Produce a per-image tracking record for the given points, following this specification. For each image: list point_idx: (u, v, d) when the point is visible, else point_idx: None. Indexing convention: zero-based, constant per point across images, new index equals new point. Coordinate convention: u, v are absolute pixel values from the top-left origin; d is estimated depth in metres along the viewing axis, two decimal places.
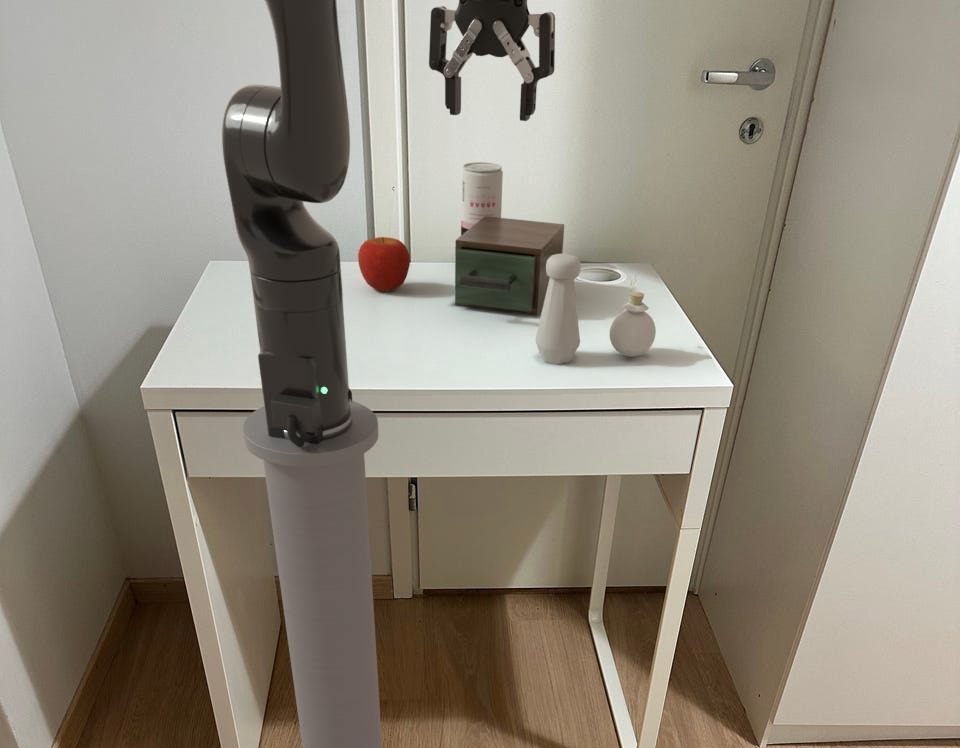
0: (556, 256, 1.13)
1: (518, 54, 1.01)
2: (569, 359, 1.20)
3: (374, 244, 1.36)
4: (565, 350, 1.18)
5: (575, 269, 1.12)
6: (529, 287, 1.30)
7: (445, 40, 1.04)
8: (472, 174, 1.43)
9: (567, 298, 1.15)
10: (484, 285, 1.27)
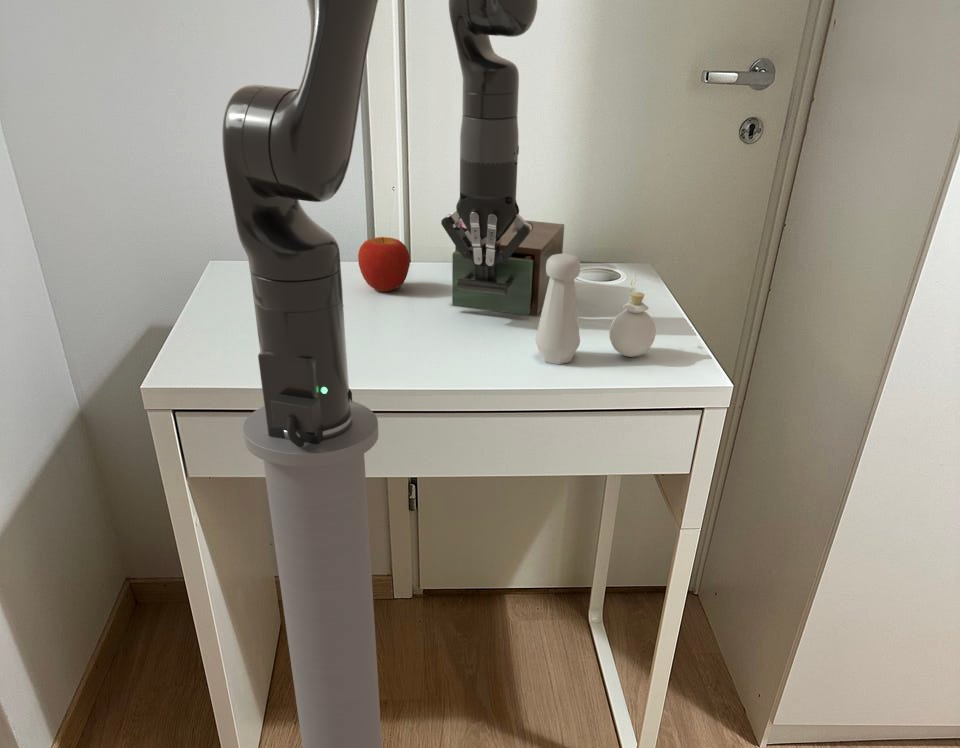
0: (556, 256, 1.13)
1: (493, 245, 1.23)
2: (569, 359, 1.20)
3: (374, 244, 1.36)
4: (565, 350, 1.18)
5: (575, 269, 1.12)
6: (526, 290, 1.29)
7: (464, 233, 1.26)
8: None
9: (567, 298, 1.15)
10: (481, 288, 1.26)
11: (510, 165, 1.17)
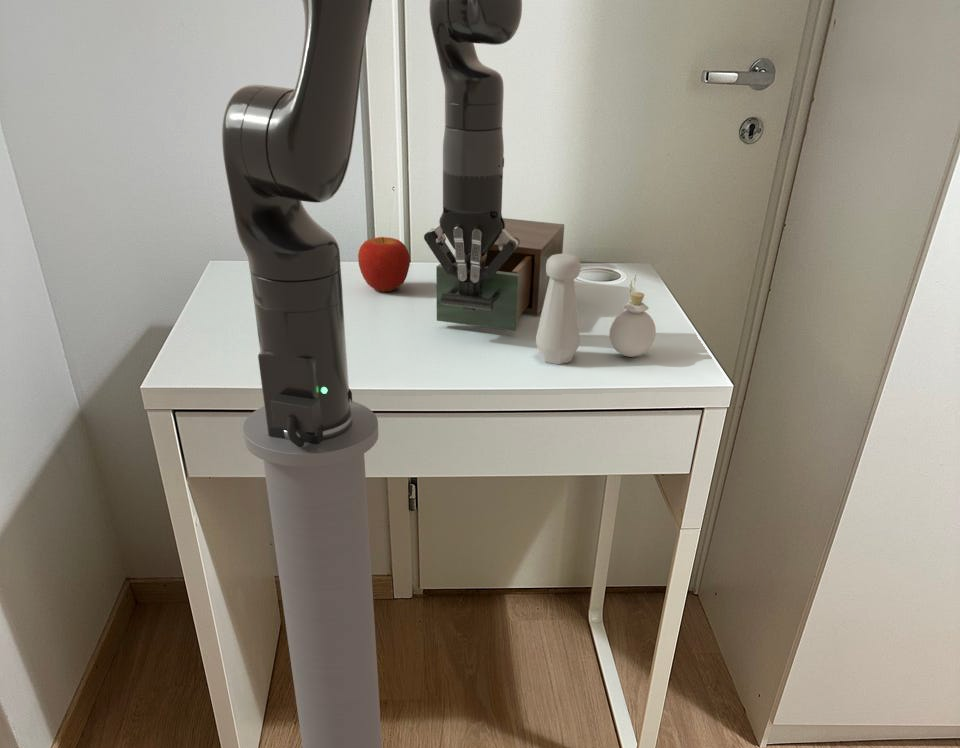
0: (556, 256, 1.13)
1: (477, 261, 1.18)
2: (569, 359, 1.20)
3: (374, 244, 1.36)
4: (565, 350, 1.18)
5: (575, 269, 1.12)
6: (513, 305, 1.24)
7: (448, 248, 1.21)
8: None
9: (567, 298, 1.15)
10: (466, 303, 1.21)
11: (495, 178, 1.11)
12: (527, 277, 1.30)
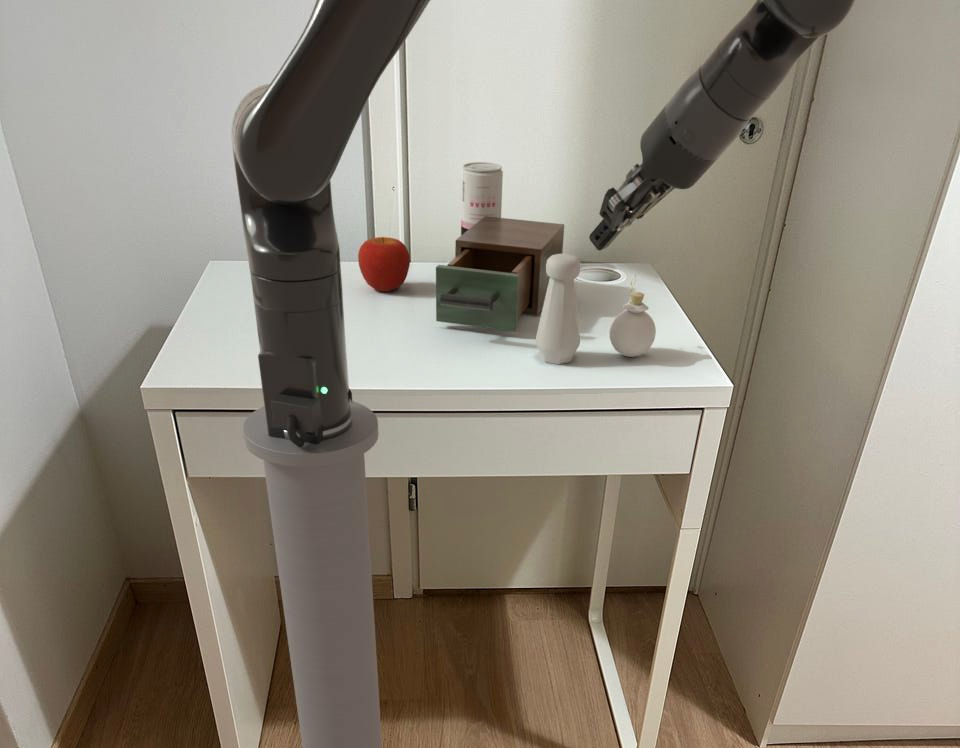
0: (556, 256, 1.13)
1: None
2: (569, 359, 1.20)
3: (374, 244, 1.36)
4: (565, 350, 1.18)
5: (575, 269, 1.12)
6: (513, 306, 1.24)
7: None
8: (472, 174, 1.43)
9: (567, 298, 1.15)
10: (465, 304, 1.21)
11: (664, 127, 0.91)
12: (527, 277, 1.30)
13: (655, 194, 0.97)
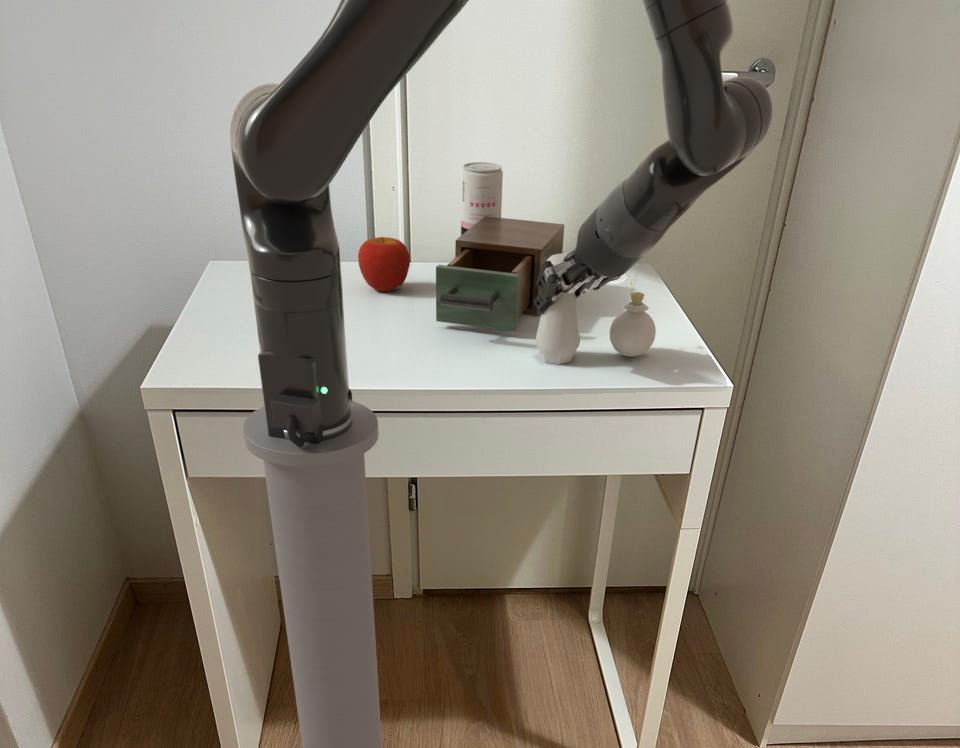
0: (556, 256, 1.13)
1: None
2: (569, 359, 1.20)
3: (374, 244, 1.36)
4: (565, 350, 1.18)
5: None
6: (513, 306, 1.24)
7: None
8: (473, 174, 1.43)
9: (567, 298, 1.15)
10: (465, 304, 1.21)
11: (593, 221, 1.02)
12: (527, 277, 1.30)
13: (589, 275, 1.08)
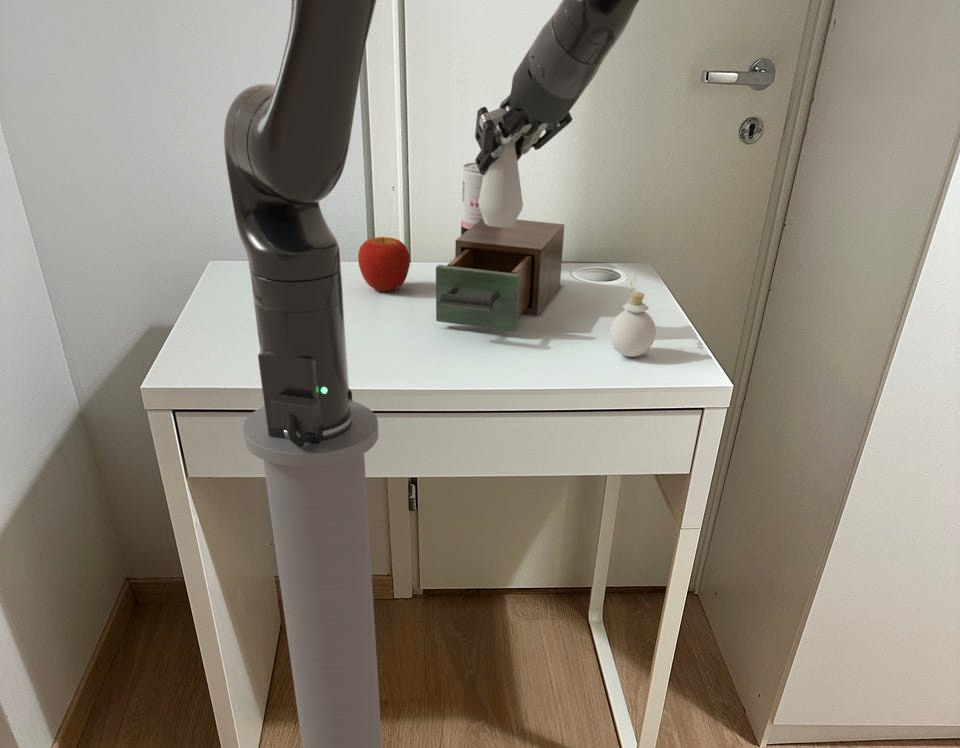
0: None
1: None
2: (512, 223, 1.19)
3: (374, 244, 1.36)
4: (507, 211, 1.17)
5: None
6: (513, 306, 1.24)
7: (548, 131, 1.13)
8: (472, 174, 1.43)
9: (507, 155, 1.14)
10: (465, 304, 1.21)
11: (526, 60, 1.02)
12: (527, 277, 1.30)
13: (526, 124, 1.08)
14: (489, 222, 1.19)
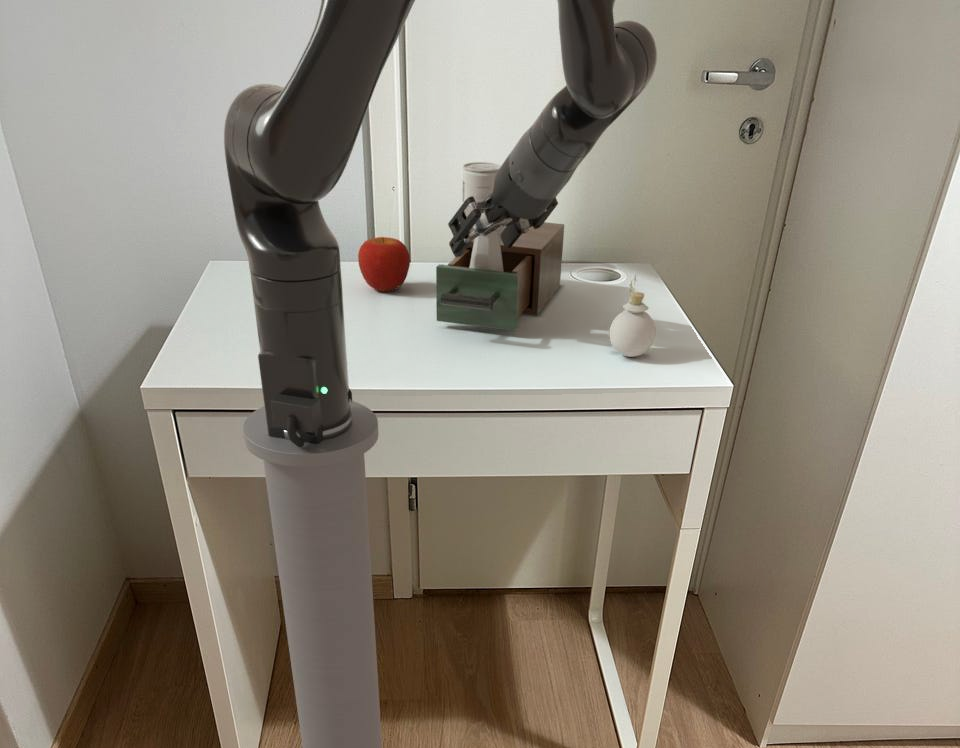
0: None
1: None
2: None
3: (374, 244, 1.36)
4: None
5: None
6: (513, 305, 1.24)
7: (540, 215, 1.22)
8: (472, 174, 1.43)
9: (492, 250, 1.23)
10: (466, 304, 1.21)
11: (507, 164, 1.10)
12: (527, 277, 1.30)
13: (509, 217, 1.16)
14: None
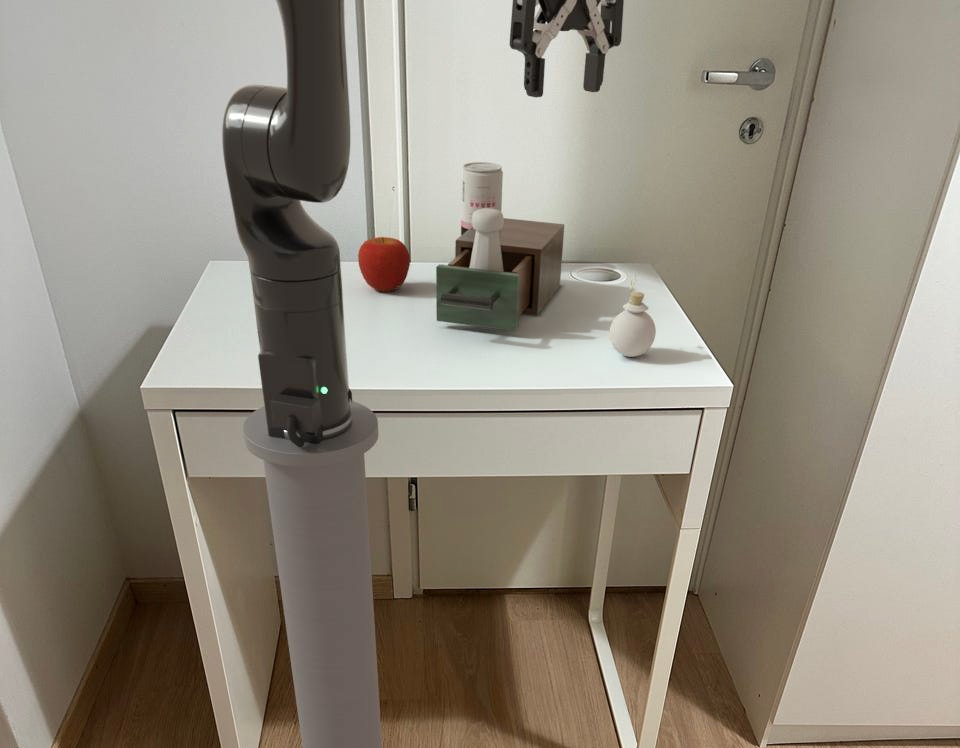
0: (480, 210, 1.22)
1: None
2: None
3: (374, 244, 1.36)
4: None
5: (498, 222, 1.21)
6: (513, 305, 1.24)
7: (613, 16, 1.02)
8: (473, 174, 1.43)
9: (492, 250, 1.23)
10: (466, 304, 1.21)
11: None
12: (527, 277, 1.30)
13: None
14: None
